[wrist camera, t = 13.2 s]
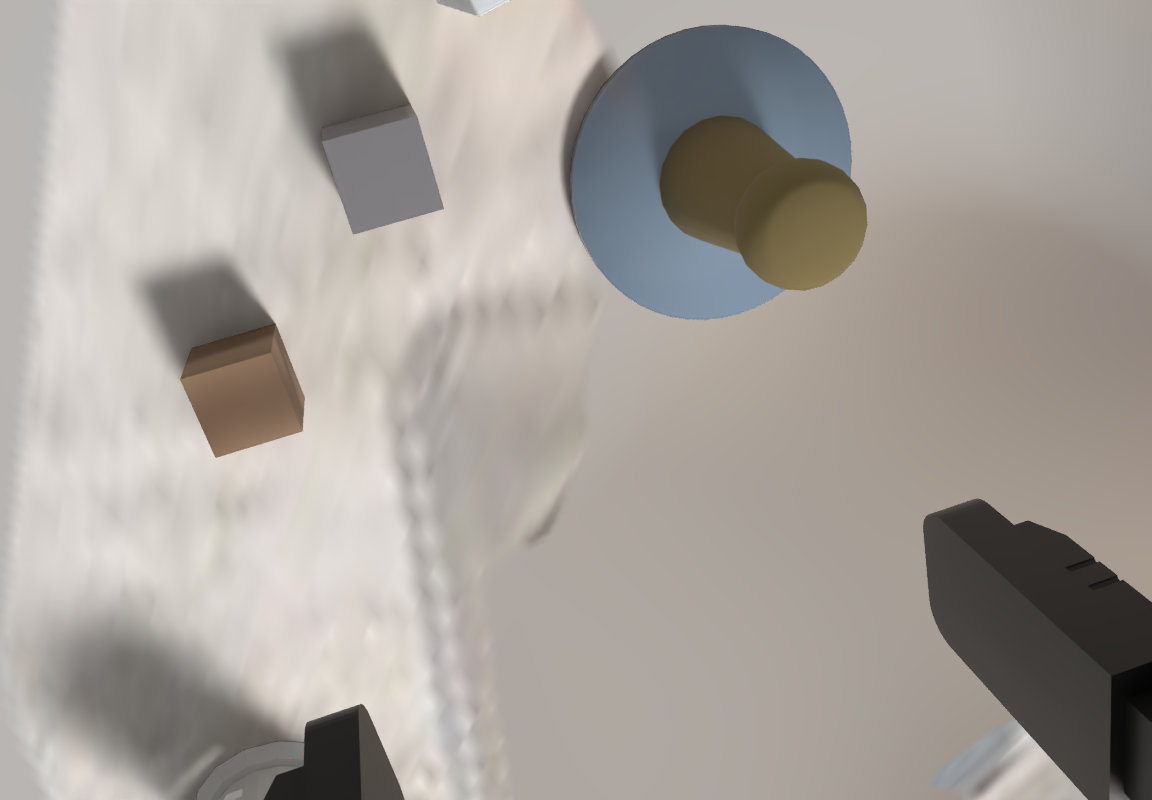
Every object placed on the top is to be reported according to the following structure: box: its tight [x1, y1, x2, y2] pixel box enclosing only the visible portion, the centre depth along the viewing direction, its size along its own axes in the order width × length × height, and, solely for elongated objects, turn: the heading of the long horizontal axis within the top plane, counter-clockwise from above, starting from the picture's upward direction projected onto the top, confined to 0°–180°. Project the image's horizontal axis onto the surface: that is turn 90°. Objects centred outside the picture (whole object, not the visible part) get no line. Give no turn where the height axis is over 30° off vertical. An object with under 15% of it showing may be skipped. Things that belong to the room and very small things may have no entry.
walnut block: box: [180, 324, 305, 458], centre depth 46 cm, size 4×4×4 cm
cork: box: [659, 115, 867, 290], centre depth 43 cm, size 6×6×11 cm
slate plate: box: [570, 25, 852, 320], centre depth 48 cm, size 14×14×1 cm
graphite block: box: [322, 104, 444, 234], centre depth 43 cm, size 4×4×4 cm
